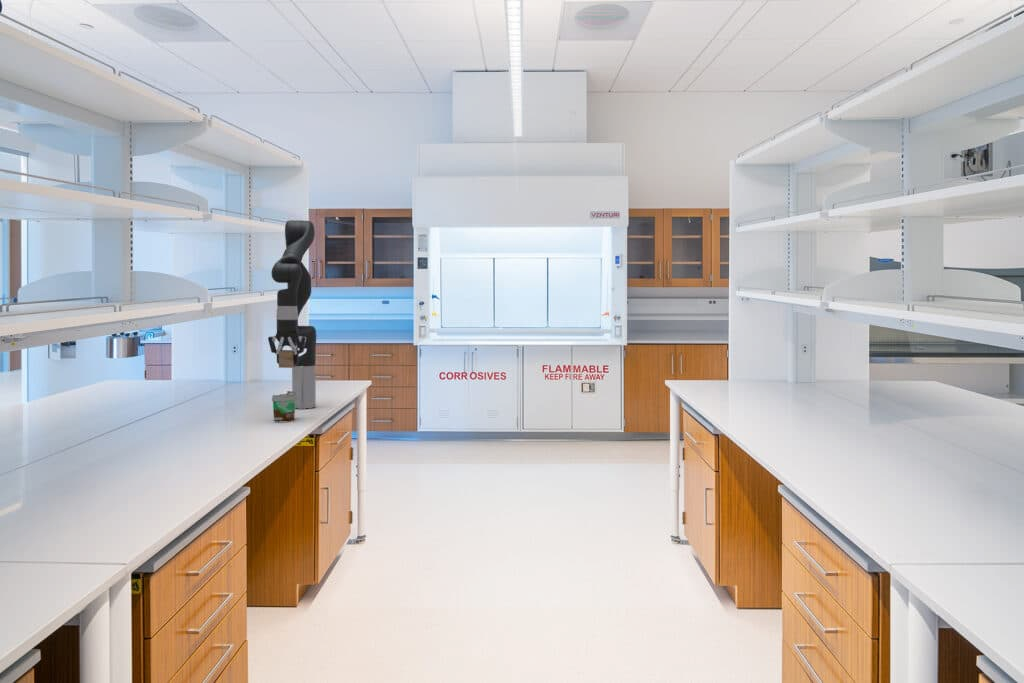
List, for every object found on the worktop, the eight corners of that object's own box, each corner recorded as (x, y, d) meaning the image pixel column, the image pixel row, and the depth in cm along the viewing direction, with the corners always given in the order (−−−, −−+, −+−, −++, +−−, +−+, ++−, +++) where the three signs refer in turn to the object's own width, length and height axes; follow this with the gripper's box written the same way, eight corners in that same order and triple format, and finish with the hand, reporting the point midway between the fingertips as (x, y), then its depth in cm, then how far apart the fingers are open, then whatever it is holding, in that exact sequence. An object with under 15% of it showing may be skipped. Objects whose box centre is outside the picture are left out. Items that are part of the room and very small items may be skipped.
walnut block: (282, 366, 292) (282, 350, 291) (296, 366, 292) (296, 350, 291) (278, 367, 287) (278, 351, 286) (292, 367, 287) (292, 351, 286)
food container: (287, 423, 284) (287, 395, 283) (272, 422, 285) (271, 395, 284) (303, 417, 296) (303, 391, 295) (288, 417, 297) (288, 390, 297)
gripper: (309, 318, 292) (309, 363, 293) (270, 317, 292) (271, 363, 293) (304, 319, 284) (304, 366, 285) (264, 318, 284) (264, 365, 285)
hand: (287, 364), depth 289 cm, fingers closed on walnut block, 5 cm apart
